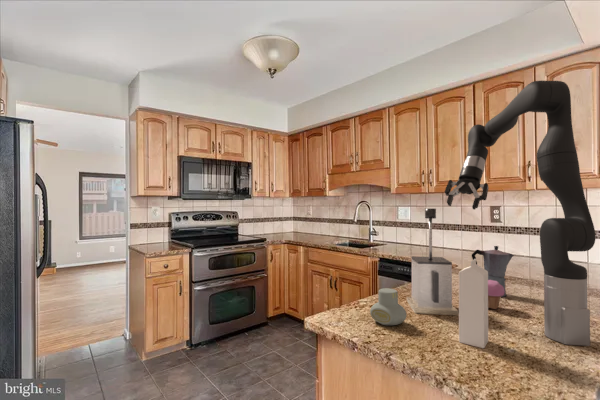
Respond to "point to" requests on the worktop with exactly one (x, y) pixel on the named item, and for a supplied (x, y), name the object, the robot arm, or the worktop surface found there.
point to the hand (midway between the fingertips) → (461, 206)
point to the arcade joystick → (431, 286)
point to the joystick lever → (430, 227)
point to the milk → (473, 305)
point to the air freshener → (388, 308)
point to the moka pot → (495, 264)
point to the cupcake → (494, 293)
